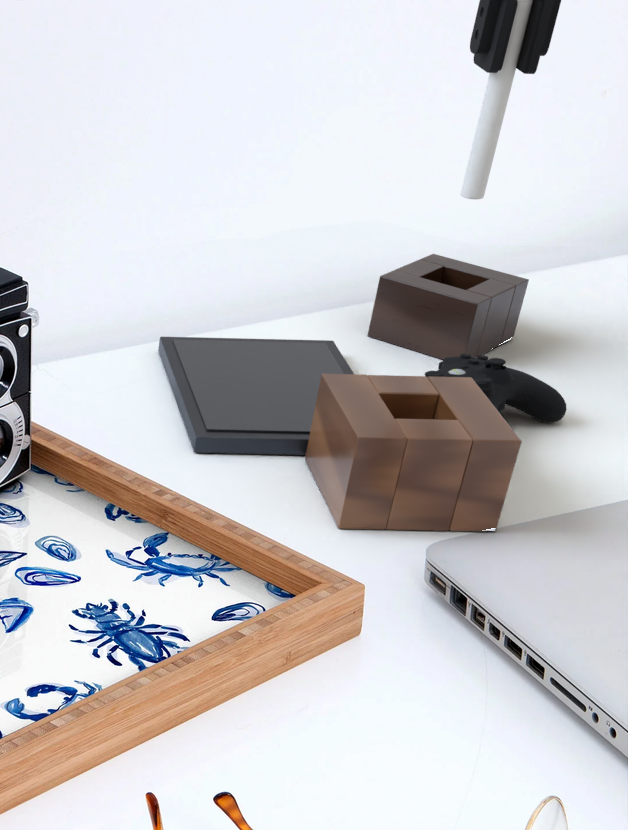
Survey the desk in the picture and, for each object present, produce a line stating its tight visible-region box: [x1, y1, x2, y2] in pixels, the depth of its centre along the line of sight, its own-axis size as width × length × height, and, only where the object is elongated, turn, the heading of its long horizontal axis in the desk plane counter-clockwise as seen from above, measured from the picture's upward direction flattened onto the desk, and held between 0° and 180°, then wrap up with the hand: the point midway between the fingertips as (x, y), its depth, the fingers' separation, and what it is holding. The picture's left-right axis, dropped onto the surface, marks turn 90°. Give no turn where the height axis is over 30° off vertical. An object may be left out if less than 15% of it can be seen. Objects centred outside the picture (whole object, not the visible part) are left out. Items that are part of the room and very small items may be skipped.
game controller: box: [424, 353, 568, 424], centre depth 84 cm, size 10×5×7 cm
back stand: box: [367, 253, 530, 361], centre depth 95 cm, size 7×7×4 cm
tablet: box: [157, 336, 355, 456], centre depth 86 cm, size 11×15×1 cm
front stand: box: [304, 373, 522, 532], centre depth 76 cm, size 8×8×5 cm
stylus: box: [459, 0, 533, 200], centre depth 87 cm, size 1×1×13 cm
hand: (503, 66), depth 86 cm, fingers closed on stylus, 1 cm apart
